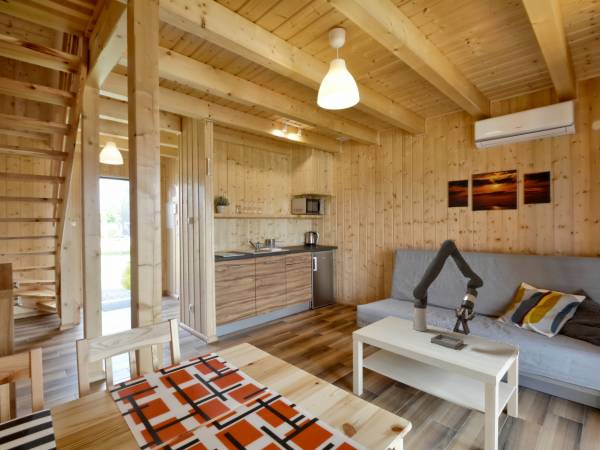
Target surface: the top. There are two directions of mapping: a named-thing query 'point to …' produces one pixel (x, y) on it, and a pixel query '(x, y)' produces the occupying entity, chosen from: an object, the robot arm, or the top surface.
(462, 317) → the phone stand
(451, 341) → the tray
